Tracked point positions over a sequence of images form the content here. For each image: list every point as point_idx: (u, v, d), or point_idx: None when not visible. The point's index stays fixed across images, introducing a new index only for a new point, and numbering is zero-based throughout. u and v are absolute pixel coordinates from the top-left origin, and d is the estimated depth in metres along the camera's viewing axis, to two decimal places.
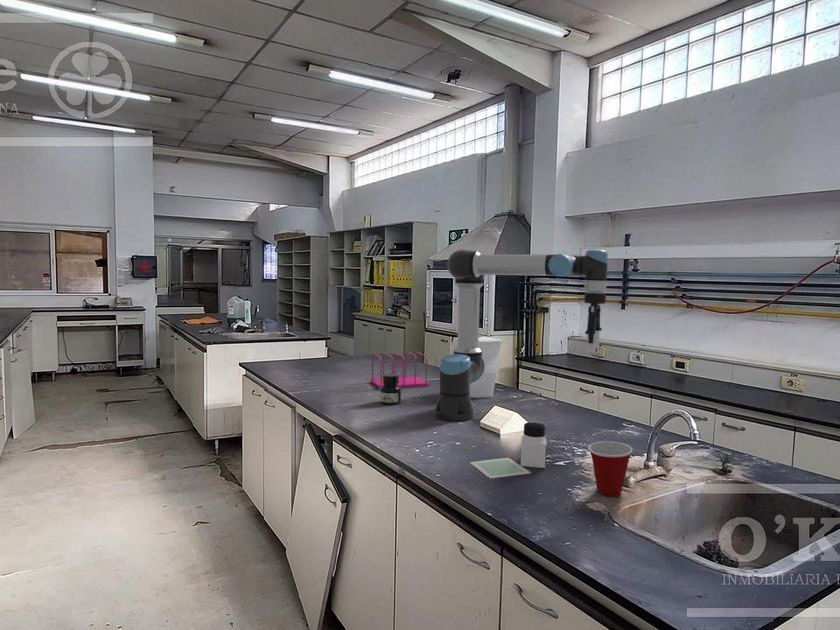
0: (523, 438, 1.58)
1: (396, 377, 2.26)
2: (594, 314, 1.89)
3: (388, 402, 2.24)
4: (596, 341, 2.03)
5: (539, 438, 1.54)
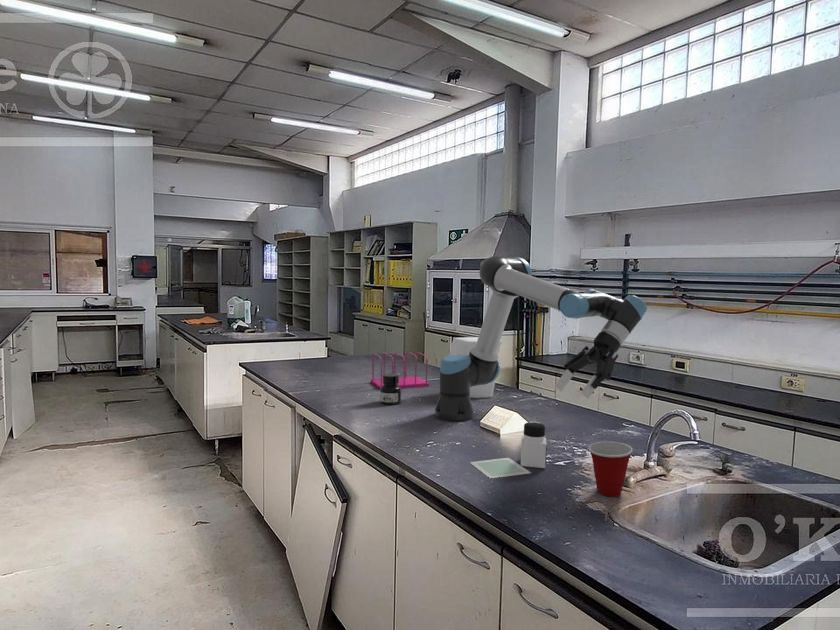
0: (523, 438, 1.58)
1: (396, 377, 2.26)
2: (614, 361, 1.58)
3: (388, 402, 2.24)
4: (564, 382, 1.68)
5: (539, 438, 1.54)
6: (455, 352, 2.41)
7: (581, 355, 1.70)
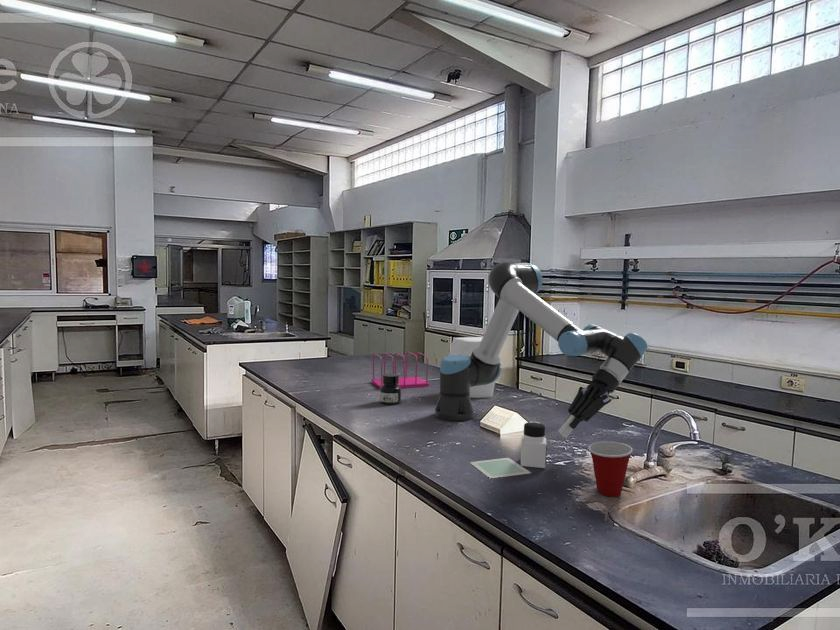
0: (523, 438, 1.58)
1: (396, 377, 2.26)
2: (602, 405, 1.57)
3: (388, 402, 2.24)
4: None
5: (539, 438, 1.54)
6: (455, 352, 2.41)
7: (580, 395, 1.66)
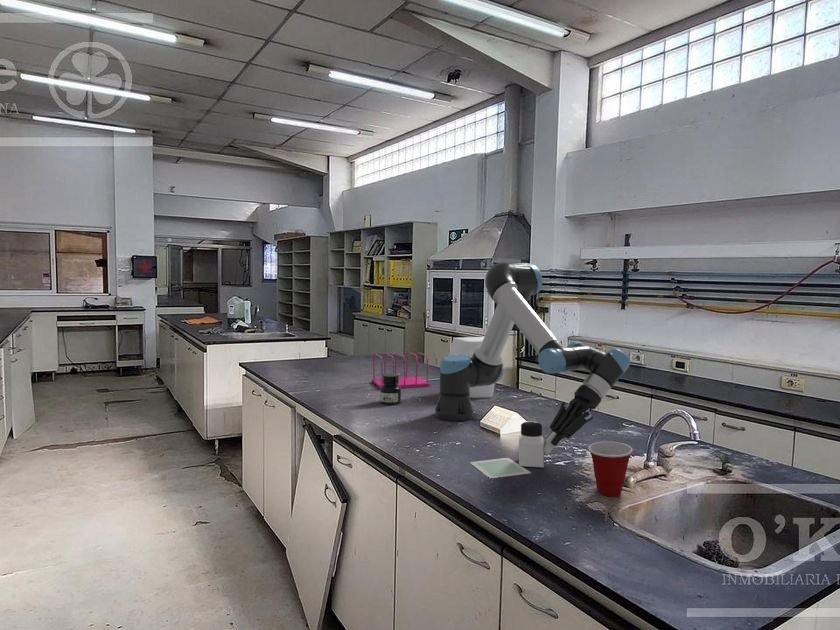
0: (520, 438, 1.58)
1: (396, 377, 2.26)
2: (584, 423, 1.56)
3: (388, 402, 2.24)
4: None
5: (536, 437, 1.54)
6: (455, 352, 2.41)
7: (562, 411, 1.64)
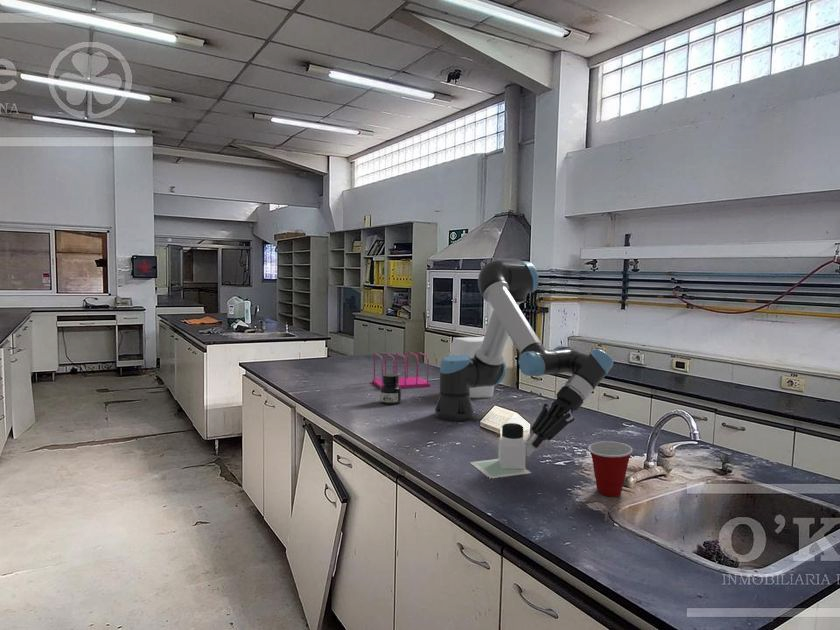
0: (501, 440, 1.56)
1: (396, 377, 2.26)
2: (565, 424, 1.54)
3: (388, 402, 2.24)
4: None
5: (519, 439, 1.53)
6: (455, 352, 2.41)
7: (544, 413, 1.62)
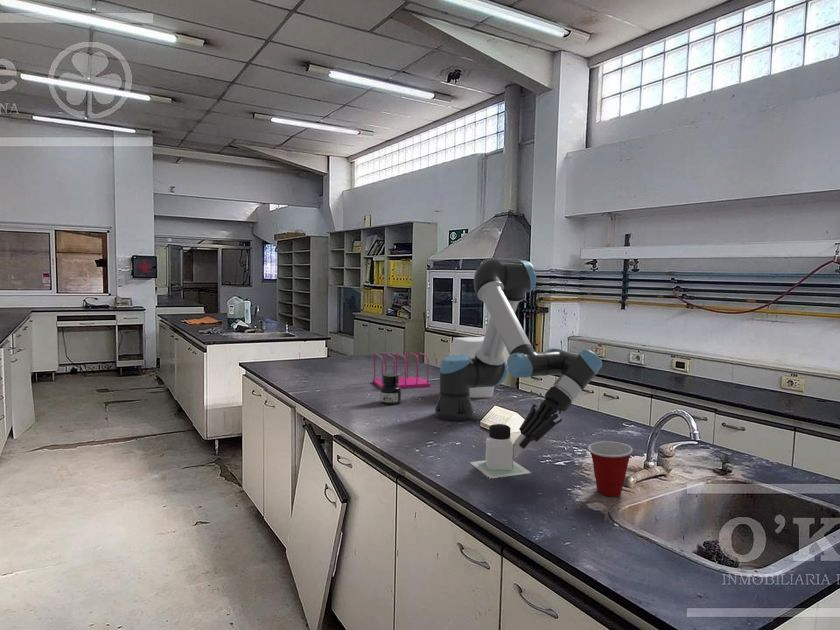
0: (489, 441, 1.54)
1: (396, 377, 2.26)
2: (553, 425, 1.53)
3: (388, 402, 2.24)
4: None
5: (506, 440, 1.52)
6: (455, 352, 2.41)
7: (533, 413, 1.61)
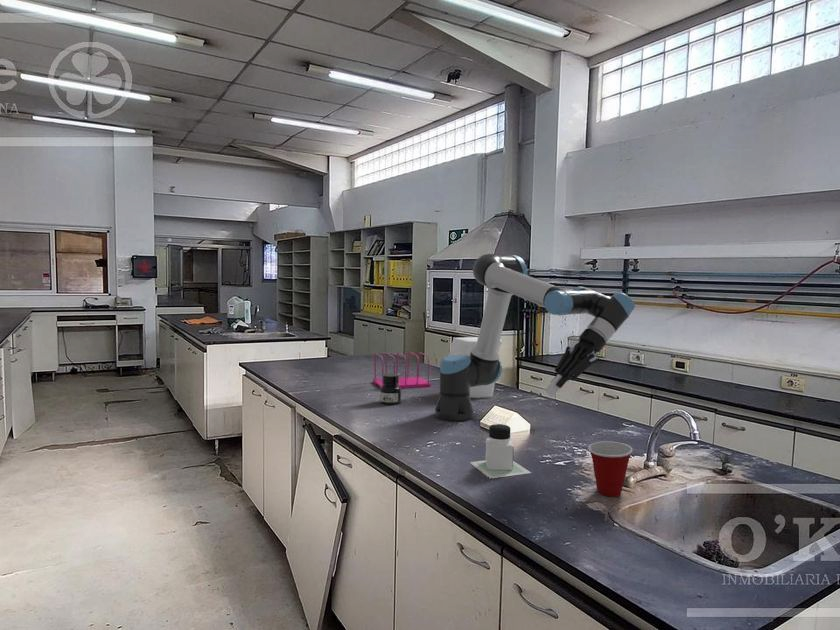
0: (489, 441, 1.54)
1: (396, 377, 2.26)
2: (589, 364, 1.58)
3: (388, 402, 2.24)
4: None
5: (506, 440, 1.52)
6: (455, 352, 2.41)
7: (567, 355, 1.66)
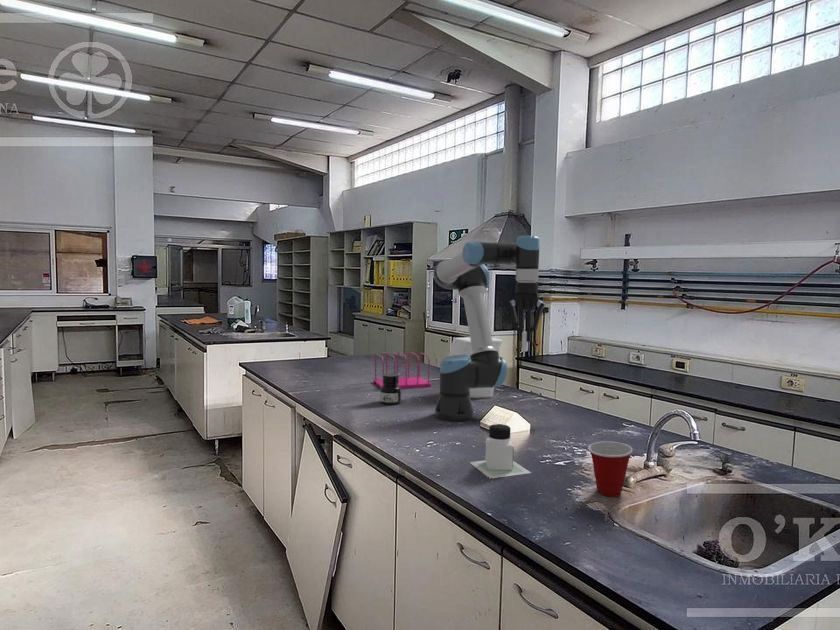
0: (489, 441, 1.54)
1: (396, 377, 2.26)
2: (541, 311, 1.80)
3: (388, 402, 2.24)
4: None
5: (506, 440, 1.52)
6: (455, 352, 2.41)
7: (514, 310, 1.83)
